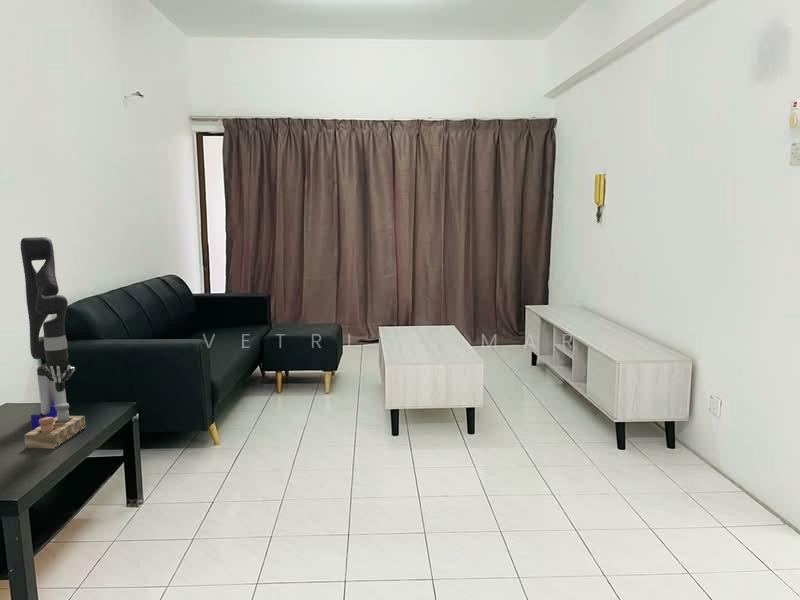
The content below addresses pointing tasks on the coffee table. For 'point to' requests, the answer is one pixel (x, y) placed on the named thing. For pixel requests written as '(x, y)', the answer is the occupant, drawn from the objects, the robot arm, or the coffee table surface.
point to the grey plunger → (62, 412)
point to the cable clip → (36, 417)
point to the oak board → (54, 433)
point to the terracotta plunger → (46, 424)
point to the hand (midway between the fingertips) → (60, 391)
